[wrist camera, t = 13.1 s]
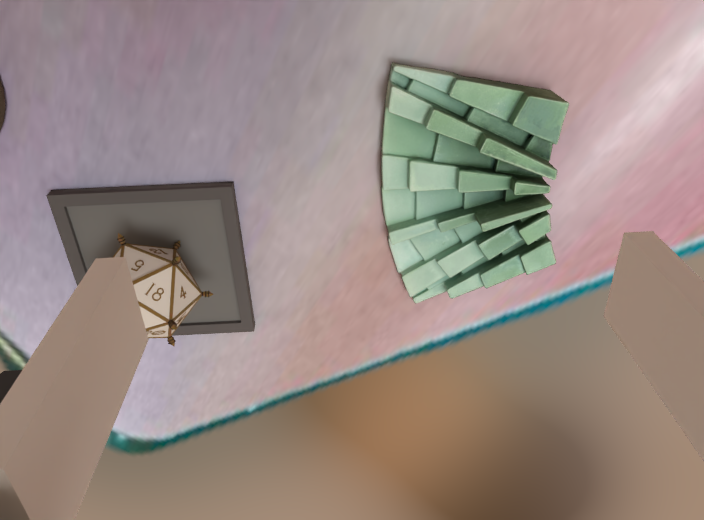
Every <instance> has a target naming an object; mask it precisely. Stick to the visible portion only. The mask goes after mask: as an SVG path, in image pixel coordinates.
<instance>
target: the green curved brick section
mask: <svg viewBox="0 0 704 520" xmlns="http://www.w3.org/2000/svg"><path fill="white" fill-rule="evenodd" d="M568 106H569V103H568V102H567V101H565V100H564V99H562V98H561V97H560V96H558V95H557V94H555V93H554V92H552V91H551V90H546V89H540V88H534V87H528V86H523V85H518V84H511V83H505V82H500V81H492V80H485V79H480V78H471V77H464V76H460V75H458V74H455V73H452V72H447V71H442V70H436V69H429V68H422V67H412V66H408V65H400V64H397V63H394V62H393V63H392V64H391V70H390V74H389V80H388V85H387V94H386V100H385V113H384V125H383V138H382V150H381V152H382V161H381V163H382V164H381V167H382V186H381V192H382V204H383V213H384V217H385V222H386V225H387V229H388V233H389V235H388V242H389V247H390V249H391V252H392V255H393V259H394V262H395V265H396V268H397V271H398V272H399V273H401V274H402V279H403V282H404V284H405V287H406V289H407V291H408V293H409V296H410V297H413V301H414V302H415V303H419V302H421V301H424V300H426V299H429V298H431V297H434V296H436V295H439V294H441V293H444V292H446V291H447V292H448V294H449V297H450V298H455V297H458V296H460V295H462V294H465V293H468V292H470V291H473V290H475V289H478V288H480V287H483V286H484V287H485V288H489V287H491V286H493V285H496V284H498V283H501V282H503V281H505V280H508V279H510V278H513V277H515V276H517V275H520V274H523V273H525V272H526V274H527V275H528V274H531V273H533V272H536V271H538V270H541V269H543V268H546V267H548V266H550V265H553V264H555V263H556V259H555V256H554V252H553V248H552V244H551V241H550V240H549V239H548V237H547V236H546V233H548V232H550V231H551V223H550V214H549V213H548V212H547V211H546V210H548V209H551V208H552V204H551V203H550V201H549V200H548V199H547V198H546V197H545V196H544V195H543V194H545V193H549V192H550V186H549V185H548V184H547V183H546V182H545V181H544V179H543V178H542V177H543V176H544V177H547V178H550V179H552V180H555V179H556V175H557V170H556V169H555V168H554V167H553V166H552V165H551V164H550V163H549V160H550V156H551V151H552V145H553V144H557V143H558V140H559V136H560V132H561V128H562V125H563V121H564V118H565V115H566V113H567V109H568Z"/></svg>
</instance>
